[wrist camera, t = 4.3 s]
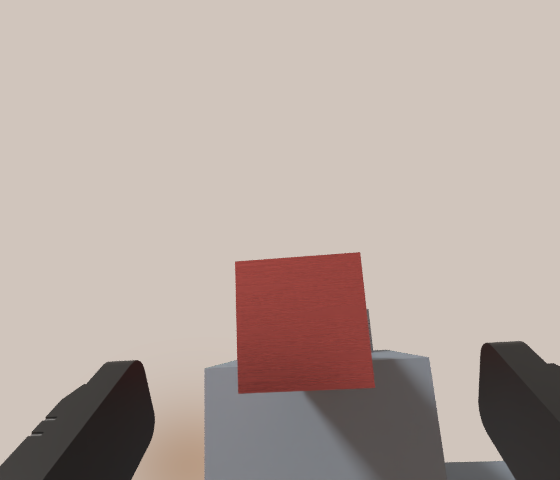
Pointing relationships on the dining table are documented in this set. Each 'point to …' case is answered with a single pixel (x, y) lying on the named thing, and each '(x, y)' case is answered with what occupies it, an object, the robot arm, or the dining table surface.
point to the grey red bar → (302, 324)
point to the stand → (333, 429)
